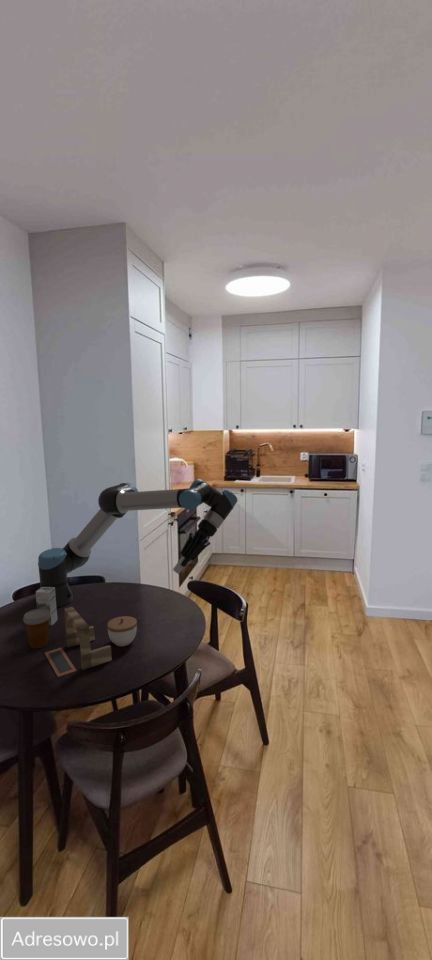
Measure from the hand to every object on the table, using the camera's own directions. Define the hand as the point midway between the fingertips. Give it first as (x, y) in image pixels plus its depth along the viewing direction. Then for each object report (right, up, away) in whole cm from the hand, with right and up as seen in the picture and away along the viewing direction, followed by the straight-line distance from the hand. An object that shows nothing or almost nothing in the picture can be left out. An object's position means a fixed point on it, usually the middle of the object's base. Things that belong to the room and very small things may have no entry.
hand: (175, 572), depth 177 cm
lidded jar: (-19, -24, -9) cm, 32 cm away
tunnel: (-29, -25, -16) cm, 42 cm away
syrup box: (-53, -22, +8) cm, 58 cm away
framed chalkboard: (-38, -26, -22) cm, 51 cm away
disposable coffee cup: (-50, -25, -9) cm, 56 cm away
